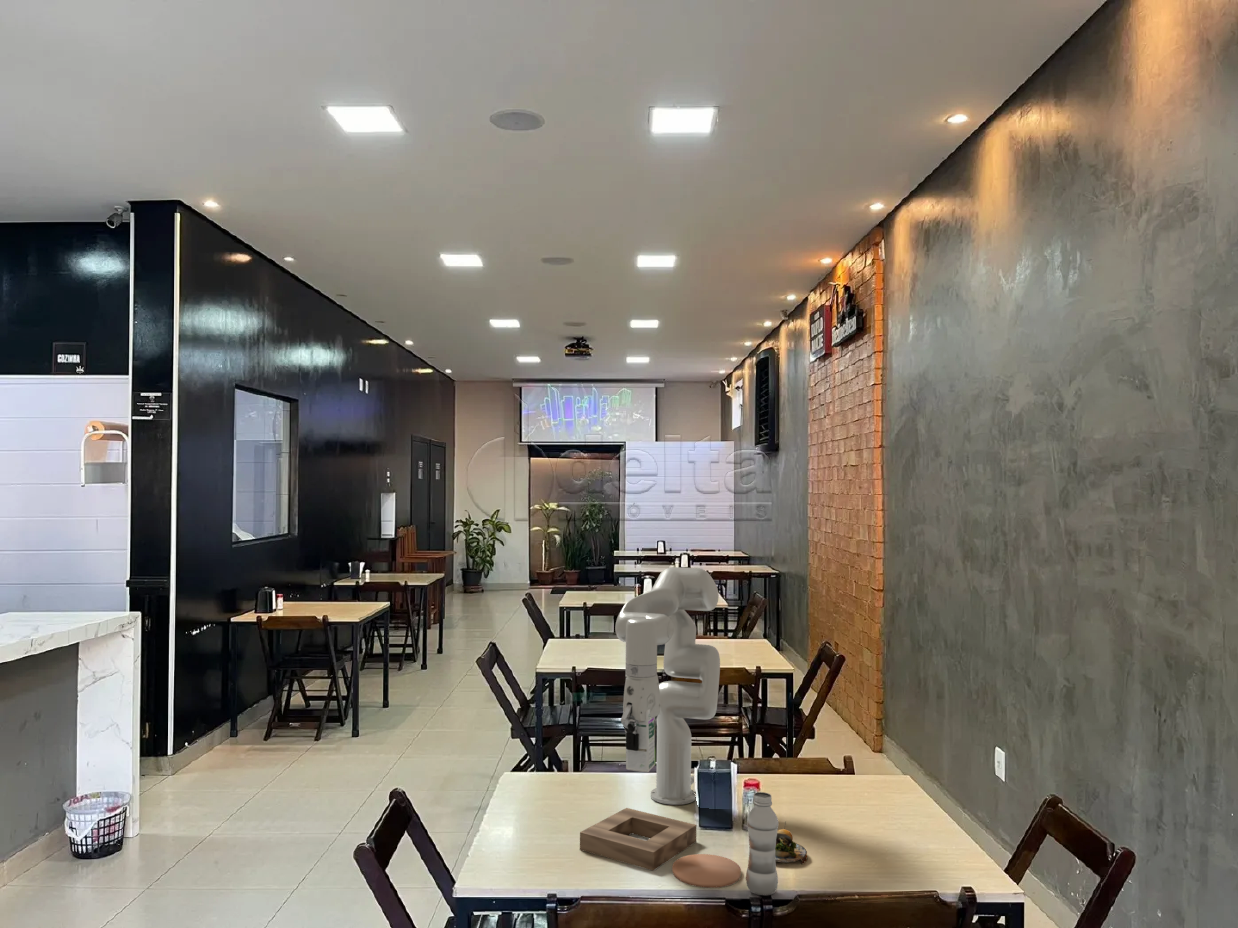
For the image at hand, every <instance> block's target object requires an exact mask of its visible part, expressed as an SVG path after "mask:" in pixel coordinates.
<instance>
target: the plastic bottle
mask: <svg viewBox="0 0 1238 928" xmlns="http://www.w3.org/2000/svg"><path fill="white" fill-rule="evenodd" d="M752 803H753V807H752V808H751V809H750V811H749V813H748V815H747V818H746V824H747V832H748V850H749V852H748V863H747V869H746V873H745V881H746V887H747V888H748V890H749V891H750V892H751V893H752V894H755V895H759V896H770V895H773V894H774V893H775V892H776V891H777V889H778V884H779V878H778V872H777V863H776V862H777V861H776V859H775V848H776V837H777V831H778V830H779V824H780V823H779V819H778V816H777V815H776V812H775V811H774V810H773V808H772V805H773V801H772V794H771V793H768V792H763V791H758V792H757V791H756V792H754V793H753V801H752Z"/></svg>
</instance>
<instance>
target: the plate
mask: <svg viewBox="0 0 1238 928" xmlns="http://www.w3.org/2000/svg"><path fill="white" fill-rule="evenodd" d="M671 872H672V875H673V877H674V878H675V879H677V880H678V881H679V882H681V883H684V884H685V885H689V886H692V887H698V888H703V889H705V888H707V889H709V888H710V889H714V888H715V889H716V888H718V889H719V888H723V887H724V888H725V887H729V886H731V885H734V884H736V883H737V882H738V881H740V879H741V877H742V869H741V866H740V865H739V864H738V863H737V862H736V861H734V860H732V859H731V858H727V857H724V856H723V855H722V856H721V855H716V854H708V853H698V854H697V853H695V854H688V855H684V856H681V857H679V858H678V859H676V860H675V861H674V862H673V863H672V867H671Z"/></svg>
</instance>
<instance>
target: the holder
mask: <svg viewBox="0 0 1238 928" xmlns="http://www.w3.org/2000/svg"><path fill="white" fill-rule="evenodd" d="M631 835H635V836H639V837H643V838H646V839H647V840H645V839H642V838H639V837H633V836H631ZM695 843H697V824H694V823H691V822H687V821H682V820H677V819H675V818H674V819H673V818H669V817H665V816H662V815H657V814H653V813H650V812H645V811H641V810H638V809H632V808H629V807H626V808H623V809H622V810H620V811H618V812H616V813H614V814H612V815H610V816H608V817H607V818H604V819H603V820H600V821H599V822H597V823H595V824H593V825H590V827H587V828H585V829H583V830H582V831H580V833H579V850H580V851H581V852H582V851H583V852H587V853H588V854H589V853H590V854H593V855H596V856H600V857H604V858H608V859H611V860H614V861H618V862H621V863H625V864H627V865H628V864H629V865H632V866H635V867H638V868H642V869H645V870H649V871H652V872H653V871H655V870H657V869H658V868H660V867H661V866H662V865H664V864H666V863H667V862H669V861H670V860H672V859H673V858H675V857H676V856H678V855H679V854H680V853H681V854H682V852H684V851H685V850H687V849H688V848H689V847H691V846H693V845H694V844H695Z"/></svg>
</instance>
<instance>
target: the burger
mask: <svg viewBox="0 0 1238 928" xmlns="http://www.w3.org/2000/svg"><path fill="white" fill-rule="evenodd" d="M786 822H787V821H785V822H784V826H786ZM793 838H794V836H793V834H792V833H791V831H790V830H787V829H786V827H784V828H782V829H781V828H780V829H778V831H777V837H776V848H775V859H776V862H778V863H795V862H797V861H799V860H801V862H800V864H801V865H804V864H805V863H806V862H807V858H808V854H807V853H808V851H807V850H806V848H805V847H804V846H802V845H801V844H798V843H796V842H794V840H793Z"/></svg>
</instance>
